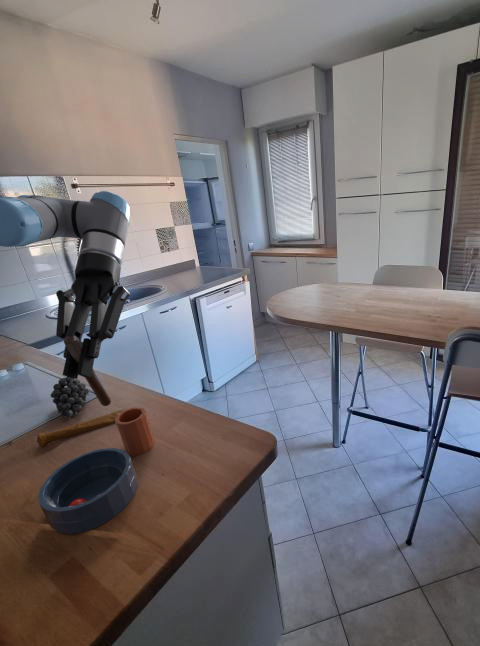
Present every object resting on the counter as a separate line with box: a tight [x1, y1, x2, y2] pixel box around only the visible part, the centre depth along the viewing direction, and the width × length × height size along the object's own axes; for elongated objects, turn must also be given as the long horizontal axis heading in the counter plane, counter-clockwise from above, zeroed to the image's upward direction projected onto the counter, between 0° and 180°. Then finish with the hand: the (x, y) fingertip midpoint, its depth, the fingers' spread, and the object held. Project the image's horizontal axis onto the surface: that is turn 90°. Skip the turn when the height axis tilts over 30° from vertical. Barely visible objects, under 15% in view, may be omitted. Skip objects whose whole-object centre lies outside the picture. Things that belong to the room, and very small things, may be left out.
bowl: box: [37, 447, 139, 535], centre depth 62 cm, size 15×15×6 cm
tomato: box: [69, 498, 86, 507], centre depth 59 cm, size 3×3×3 cm
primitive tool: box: [36, 409, 126, 449], centre depth 82 cm, size 19×6×4 cm, turn 127°
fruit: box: [50, 376, 90, 419], centre depth 90 cm, size 9×8×15 cm
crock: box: [114, 406, 155, 456], centre depth 74 cm, size 6×6×9 cm
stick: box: [63, 336, 112, 407], centre depth 61 cm, size 2×2×17 cm
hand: (77, 376), depth 58 cm, fingers closed on stick, 2 cm apart
